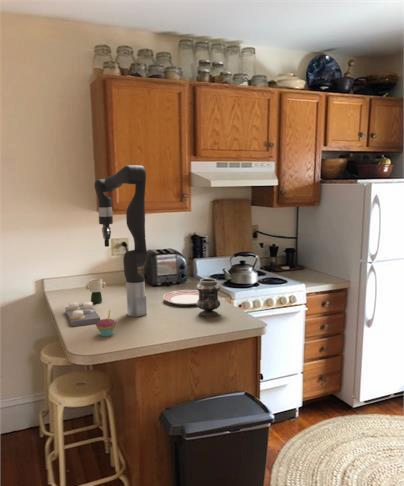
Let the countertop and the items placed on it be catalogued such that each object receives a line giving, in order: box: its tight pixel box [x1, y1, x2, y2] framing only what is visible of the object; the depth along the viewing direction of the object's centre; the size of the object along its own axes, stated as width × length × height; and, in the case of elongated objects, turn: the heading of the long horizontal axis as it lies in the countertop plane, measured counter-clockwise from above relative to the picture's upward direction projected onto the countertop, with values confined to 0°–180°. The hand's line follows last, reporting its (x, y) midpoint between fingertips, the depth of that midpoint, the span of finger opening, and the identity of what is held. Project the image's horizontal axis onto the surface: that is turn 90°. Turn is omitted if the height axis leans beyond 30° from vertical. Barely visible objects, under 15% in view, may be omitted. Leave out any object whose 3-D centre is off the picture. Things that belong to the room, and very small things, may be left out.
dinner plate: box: [162, 289, 199, 306], centre depth 241 cm, size 27×27×3 cm
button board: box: [65, 304, 101, 328], centre depth 213 cm, size 26×13×3 cm, turn 25°
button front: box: [73, 310, 83, 318], centre depth 204 cm, size 5×5×2 cm
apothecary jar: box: [195, 277, 221, 318], centre depth 214 cm, size 12×12×18 cm
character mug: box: [85, 278, 107, 304], centre depth 239 cm, size 11×7×13 cm, turn 111°
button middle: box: [82, 301, 94, 309], centre depth 213 cm, size 5×5×2 cm
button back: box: [68, 301, 79, 309], centre depth 218 cm, size 5×5×2 cm
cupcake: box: [95, 309, 117, 337], centre depth 186 cm, size 9×8×12 cm
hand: (106, 246), depth 237 cm, fingers closed
